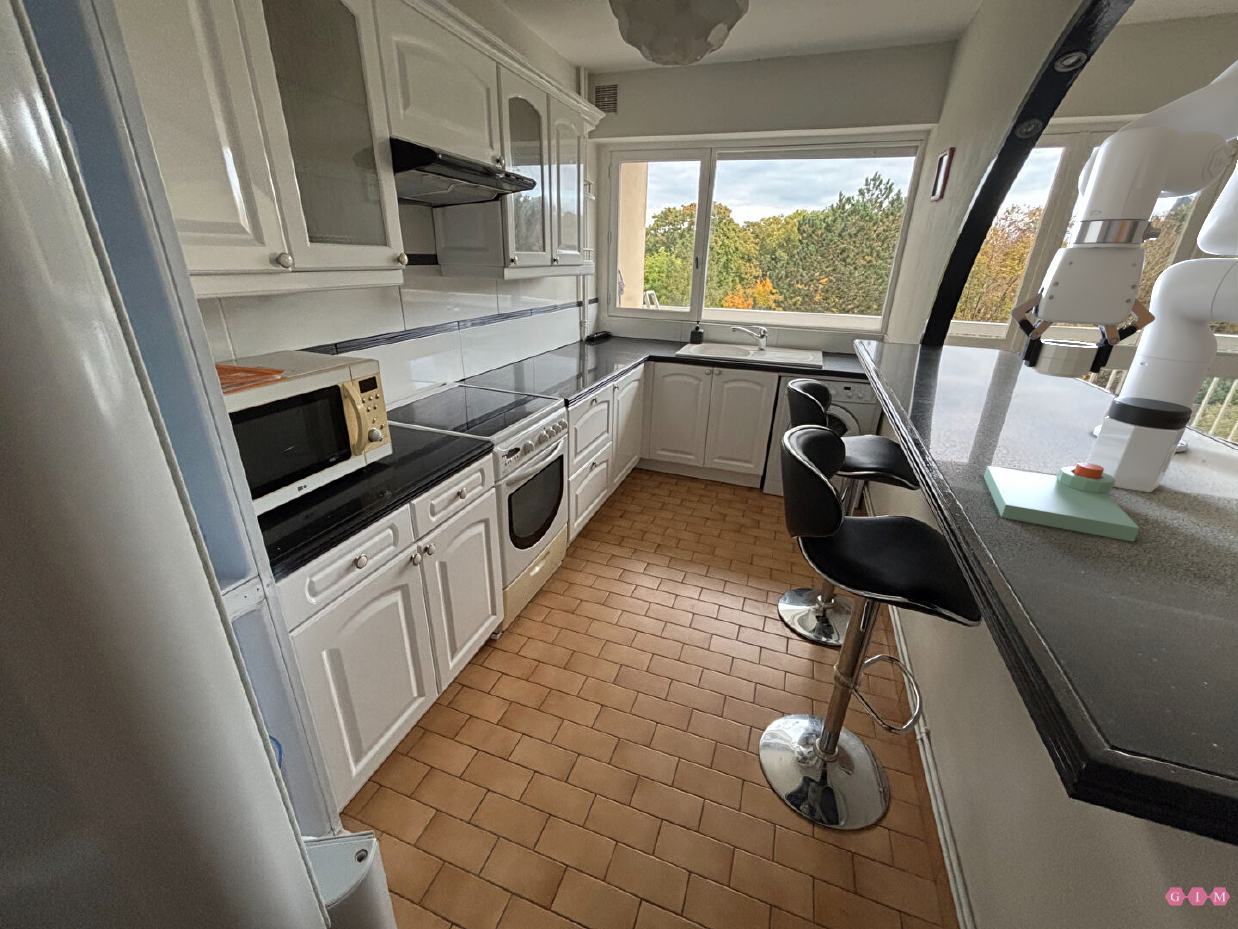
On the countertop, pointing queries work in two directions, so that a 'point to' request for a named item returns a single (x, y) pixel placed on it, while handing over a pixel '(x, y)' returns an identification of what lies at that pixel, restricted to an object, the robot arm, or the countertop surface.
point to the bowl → (1065, 358)
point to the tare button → (1089, 470)
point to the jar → (1139, 441)
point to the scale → (1060, 501)
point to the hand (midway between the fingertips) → (1060, 367)
